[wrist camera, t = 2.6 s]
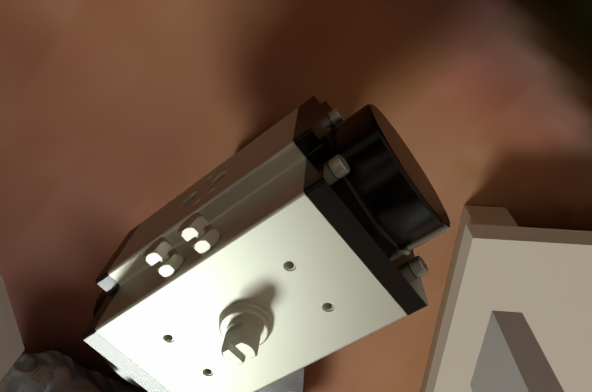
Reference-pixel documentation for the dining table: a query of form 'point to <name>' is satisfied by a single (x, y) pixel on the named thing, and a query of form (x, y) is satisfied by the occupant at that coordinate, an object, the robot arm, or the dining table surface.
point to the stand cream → (514, 297)
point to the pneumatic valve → (271, 258)
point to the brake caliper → (56, 376)
